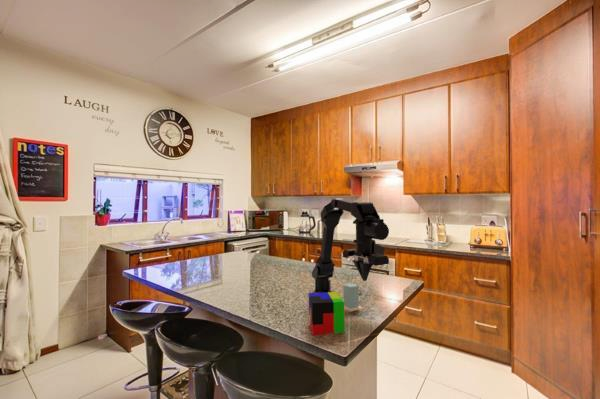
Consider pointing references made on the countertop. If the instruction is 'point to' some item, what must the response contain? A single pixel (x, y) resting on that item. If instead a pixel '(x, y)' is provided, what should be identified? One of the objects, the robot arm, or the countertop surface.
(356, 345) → the countertop surface
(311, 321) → the puzzle toy
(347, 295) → the pillar
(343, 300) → the mat
